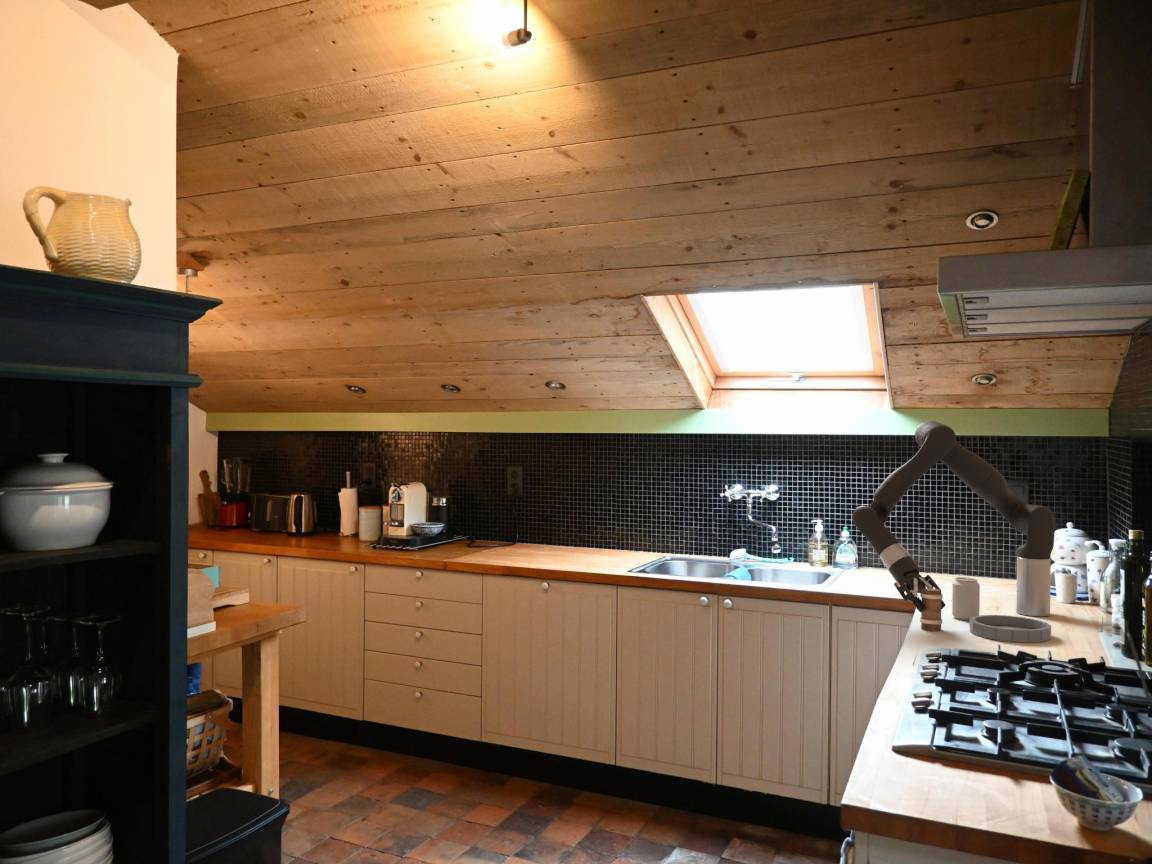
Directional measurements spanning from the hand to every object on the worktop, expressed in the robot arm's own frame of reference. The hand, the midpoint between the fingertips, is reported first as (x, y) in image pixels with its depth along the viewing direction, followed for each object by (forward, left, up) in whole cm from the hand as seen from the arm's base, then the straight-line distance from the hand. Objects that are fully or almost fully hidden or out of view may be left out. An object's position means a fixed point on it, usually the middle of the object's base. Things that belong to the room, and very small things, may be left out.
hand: (933, 609), depth 253 cm
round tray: (+2, +20, -6) cm, 20 cm away
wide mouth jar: (-18, +13, -6) cm, 23 cm away
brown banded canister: (0, 0, -6) cm, 6 cm away
